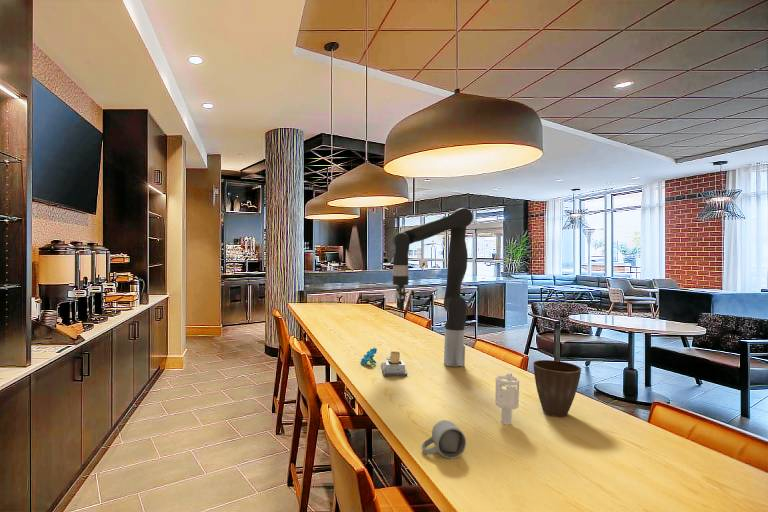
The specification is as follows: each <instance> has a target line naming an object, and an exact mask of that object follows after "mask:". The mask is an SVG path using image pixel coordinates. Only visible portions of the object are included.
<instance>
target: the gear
mask: <svg viewBox="0 0 768 512" xmlns="http://www.w3.org/2000/svg"><path fill="white" fill-rule="evenodd" d="M377 351H378V349H377V348H376V347H373V348H370V350H368V351H366V354H364V355H363V357H362V358H361V359H360V364H361V365H364V364H368V362H369V364H372V365H373V366H374V367H376V364H377V361H376V360H375V359H374V357H375V355H376V354H377ZM375 363H376V364H375Z"/></svg>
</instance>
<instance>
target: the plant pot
mask: <svg viewBox="0 0 768 512" xmlns="http://www.w3.org/2000/svg"><path fill="white" fill-rule="evenodd" d="M532 367H533V372H534V373H533V374H534V380H535V381H534V382H535V386H536V391H537V395H538V399H539V402H540V405H541V409H542V411H543V413H544V414H546V415H548V416H550V417H551V416H552V417H555V416H558V417H557V418H564V417H563V416H565V417H567V415H568V413H569V411H570V410H571V407H572V404H573V402H574V400H575V396H576V394H577V390H578V387H579V384H580V383H579V382H580V379H581V373H582V368H581V367H580V366H578V365H576V364H574V363H570V362H567V361H566V362H565V361H562V360H561V361H559V360H554V359H552V360H550V359H541V360H540V359H539V360H536V361H534V362H533V363H532Z"/></svg>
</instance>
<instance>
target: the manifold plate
mask: <svg viewBox="0 0 768 512" xmlns="http://www.w3.org/2000/svg"><path fill="white" fill-rule="evenodd" d="M390 358H391V355H386V359H385V360H384V362H381V363H380V367H381V369H382V374H383V377H393V376H407V377H408V373H407V370H406V364H405V362H404V360H402V359H401V360H400V362H399V364H390Z"/></svg>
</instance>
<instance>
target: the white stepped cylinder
mask: <svg viewBox="0 0 768 512" xmlns="http://www.w3.org/2000/svg"><path fill="white" fill-rule="evenodd" d="M503 387H506V389H505V388H503ZM494 395H495V398H494V402H495V403H494V404H495V406H496V407H498V408H501V413H500V414H501V420H500V421H501V422H500V423H501V424H503V425H506V426H507V425H508V426H509V425H512V413H513V412H512V411H513V410H516V409H518V408H519V404H520V403H519V401H520V399H519V398H520V379H519V378H518V377H516V376H513V373H512V372H509V371H508V372H507V373H506V375H504V374H503V375H497V376H496V377H495V394H494Z"/></svg>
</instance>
